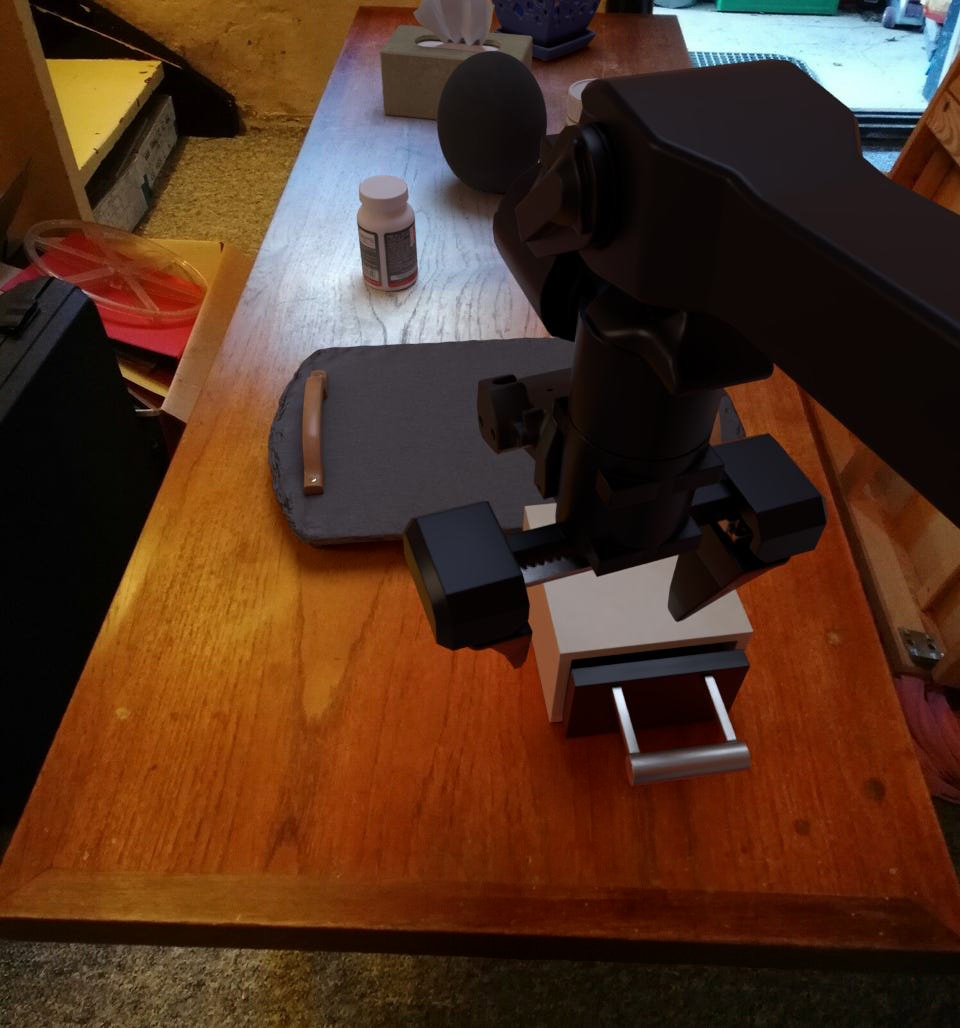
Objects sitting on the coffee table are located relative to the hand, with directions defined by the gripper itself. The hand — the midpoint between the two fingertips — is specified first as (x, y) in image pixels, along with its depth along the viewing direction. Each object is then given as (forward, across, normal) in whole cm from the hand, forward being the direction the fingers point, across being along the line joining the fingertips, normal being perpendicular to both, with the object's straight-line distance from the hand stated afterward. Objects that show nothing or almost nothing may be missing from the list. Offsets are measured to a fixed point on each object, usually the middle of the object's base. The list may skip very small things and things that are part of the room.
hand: (596, 637), depth 45 cm
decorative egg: (+12, -19, -69) cm, 73 cm away
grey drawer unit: (+12, -6, -7) cm, 15 cm away
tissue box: (+12, -22, -92) cm, 96 cm away
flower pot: (+12, -41, -109) cm, 117 cm away
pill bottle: (+12, -2, -55) cm, 56 cm away
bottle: (+12, -26, -57) cm, 64 cm away
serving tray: (+12, -5, -27) cm, 30 cm away
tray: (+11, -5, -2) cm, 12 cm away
